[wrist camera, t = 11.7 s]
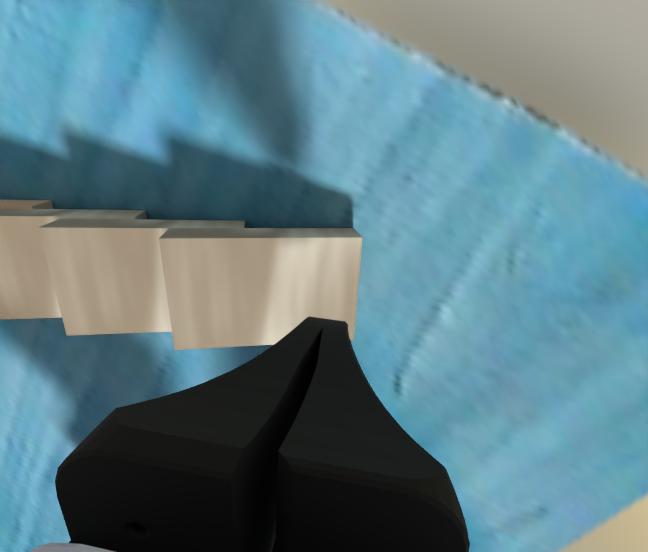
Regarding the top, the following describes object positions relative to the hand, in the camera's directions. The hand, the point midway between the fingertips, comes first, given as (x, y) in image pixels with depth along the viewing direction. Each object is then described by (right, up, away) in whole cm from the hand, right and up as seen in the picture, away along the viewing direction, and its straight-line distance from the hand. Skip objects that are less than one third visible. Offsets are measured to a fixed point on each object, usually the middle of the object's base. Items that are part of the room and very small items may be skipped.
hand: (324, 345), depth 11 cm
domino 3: (+1, +2, +5) cm, 5 cm away
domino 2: (-4, +2, +5) cm, 7 cm away
